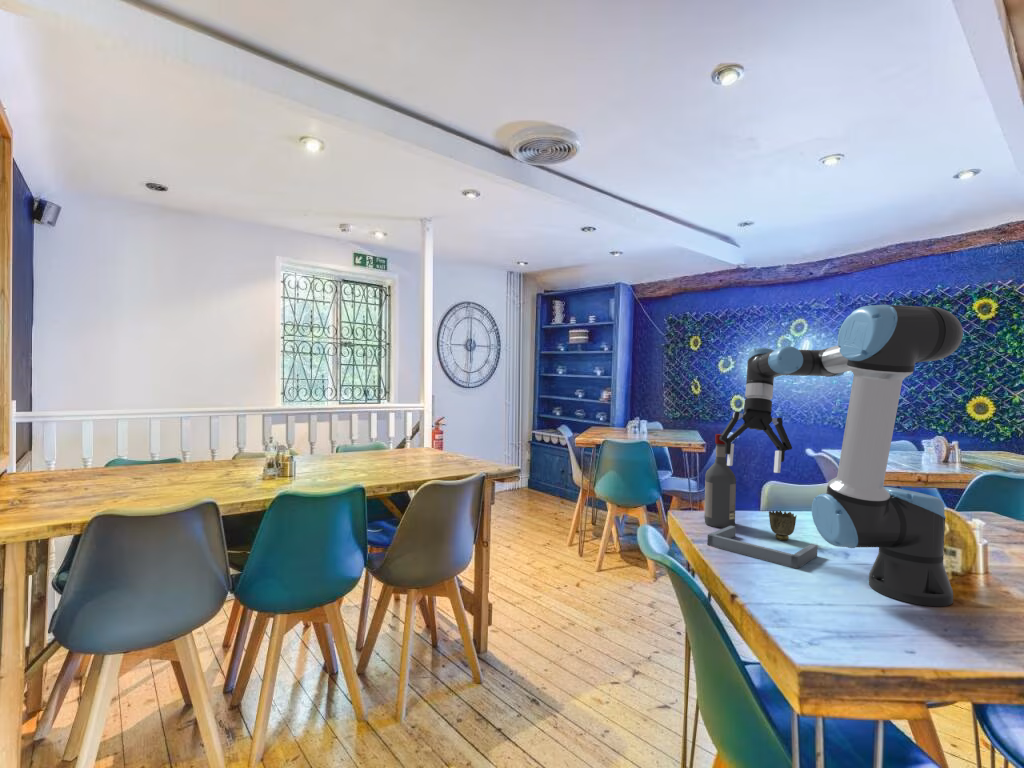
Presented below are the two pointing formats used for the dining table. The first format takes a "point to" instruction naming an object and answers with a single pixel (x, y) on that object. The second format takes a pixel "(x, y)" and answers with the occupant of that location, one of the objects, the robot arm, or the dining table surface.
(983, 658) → the dining table surface
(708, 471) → the liquor
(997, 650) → the dining table surface
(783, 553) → the corral
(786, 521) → the cup
